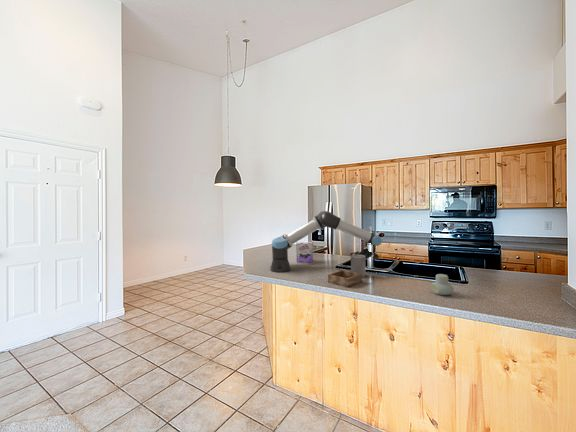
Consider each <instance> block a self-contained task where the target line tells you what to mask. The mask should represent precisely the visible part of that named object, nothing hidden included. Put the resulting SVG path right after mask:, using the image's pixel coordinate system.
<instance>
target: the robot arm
mask: <svg viewBox="0 0 576 432" xmlns="http://www.w3.org/2000/svg"><path fill="white" fill-rule="evenodd" d="M325 228H330V229H333V230H339V231H341V232H344V233H345V234H348V235H350V236H352V237H355V238H357V239H359V240H362V241H364V243H365V244H364V248H363V249H362V251H358V250H357V251H354V252H350V258H351V255H355V254H359V255H364V256H365V259H369V258H370V261H373V260H375V259H379V254H377V253H376V250H377V248H376V247H378V246H380V245H381V244H382V242H383V240H382V237H381V236H379V235H377V234H375V232H376V231H374V230H372V231H373V232H372V233H373V234H372V233H370V231H371V230H365V229H363V228H360V227H358V226H356V225H353V224H352V223H349V222H347V221H345V220H342V218H341V217H339V216H337V215H335V214H333V213H332V212H330V211H328V210H327V211H326V210H322V211H320V212H319V213H318V214H316V215H315V216H313V218H312V220H310V221H308V222H306V223H305V224H304V225H301V226H300V227H299V228H297V229H295V230H293V231H292V232H290V233H288V234H282V235H280V237H276V238H273V239H272V240H271V249H272V253H271V254H272V255H271V256H272V258H271V259H272V261H271V265H270V271H271V272H273V271H274V273H285V272H289V271H290V270H291V265H290V262H289V255H288V254H289V253H288V250H289V249H291V248H292V247H293V244H295V243H297V242H299V241H301V240H302V239H304V238H306V237H307V236H309V235H311V234H312V233H314V232H316V231H318V230H323V229H325ZM367 242H368V243H371V244H373V245H375V252H374V253H372V252H369V251H368V249H367Z"/></svg>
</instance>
